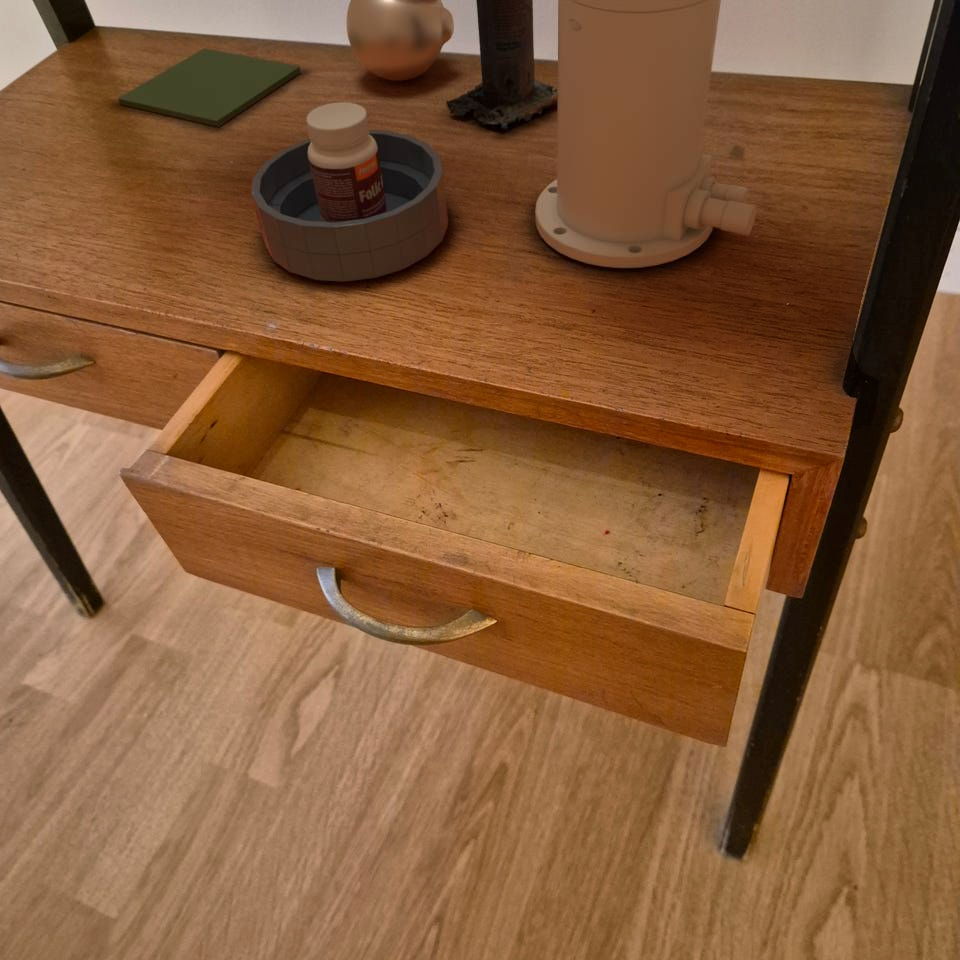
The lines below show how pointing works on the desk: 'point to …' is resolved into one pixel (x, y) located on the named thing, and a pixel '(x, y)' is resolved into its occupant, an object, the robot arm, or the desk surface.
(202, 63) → the mat
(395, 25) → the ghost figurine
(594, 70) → the robot arm
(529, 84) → the post on square base
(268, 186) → the bowl
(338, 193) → the pill bottle
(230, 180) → the desk surface
